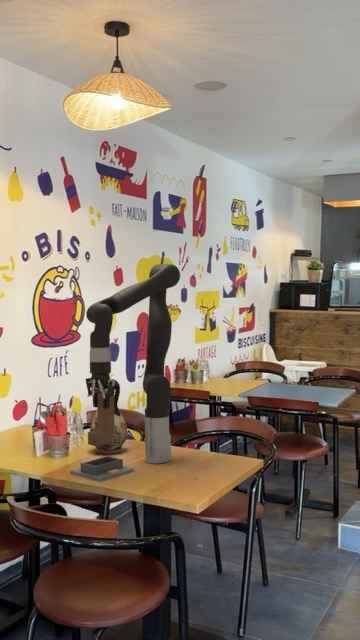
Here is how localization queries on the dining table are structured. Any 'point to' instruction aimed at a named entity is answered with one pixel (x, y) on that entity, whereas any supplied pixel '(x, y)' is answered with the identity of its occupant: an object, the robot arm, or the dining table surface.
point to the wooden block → (103, 423)
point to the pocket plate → (102, 469)
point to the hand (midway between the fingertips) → (101, 407)
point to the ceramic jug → (119, 427)
